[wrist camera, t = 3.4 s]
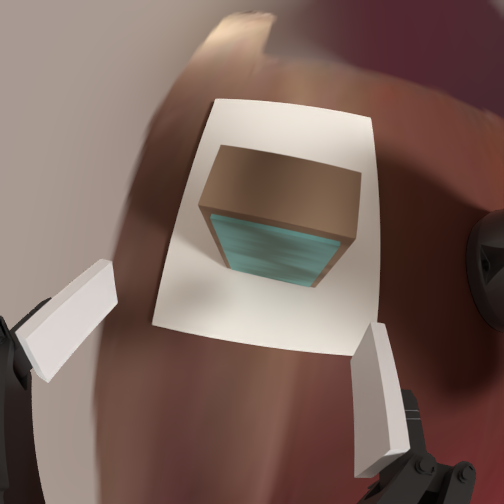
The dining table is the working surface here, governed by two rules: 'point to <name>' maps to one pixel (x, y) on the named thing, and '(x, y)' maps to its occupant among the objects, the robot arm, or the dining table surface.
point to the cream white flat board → (260, 288)
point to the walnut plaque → (280, 213)
